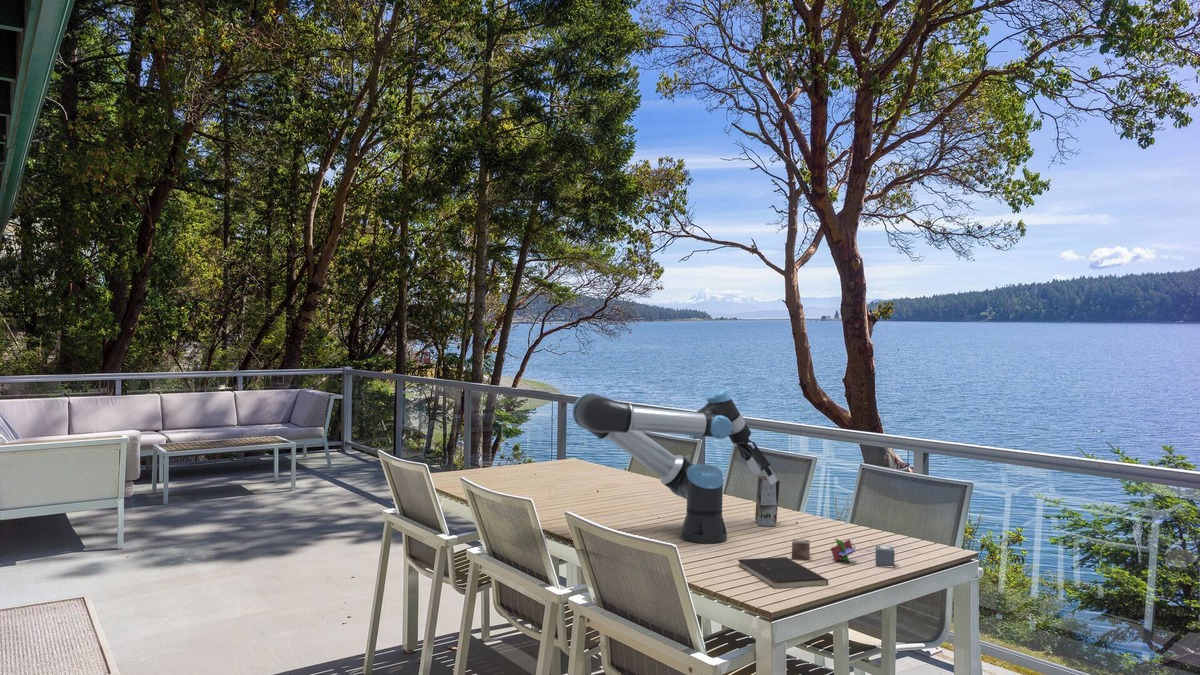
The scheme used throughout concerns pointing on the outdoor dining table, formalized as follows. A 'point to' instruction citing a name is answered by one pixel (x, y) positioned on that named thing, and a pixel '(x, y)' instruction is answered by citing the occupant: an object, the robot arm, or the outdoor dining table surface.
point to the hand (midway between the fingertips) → (766, 478)
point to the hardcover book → (782, 572)
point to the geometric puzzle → (842, 550)
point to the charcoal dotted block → (884, 556)
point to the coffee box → (766, 502)
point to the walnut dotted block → (800, 549)
